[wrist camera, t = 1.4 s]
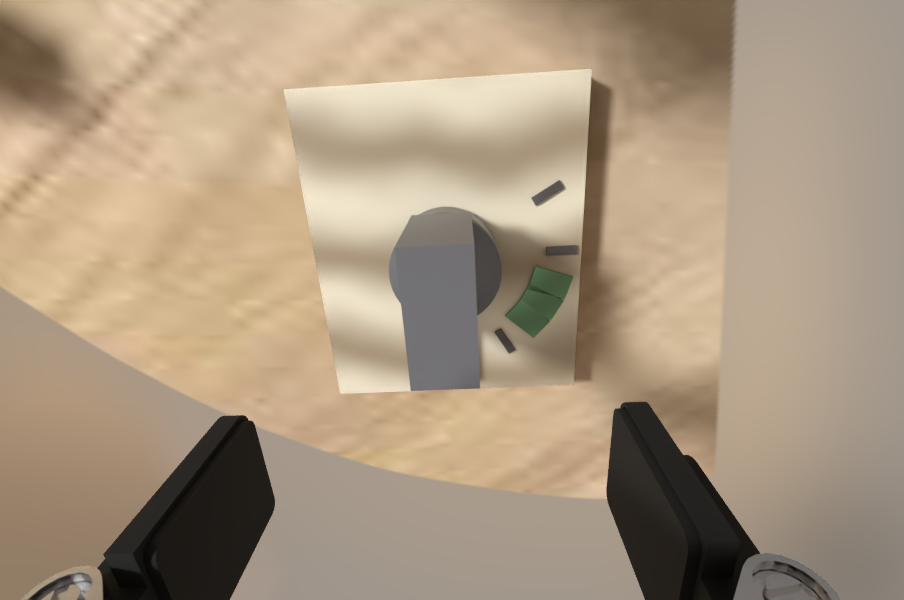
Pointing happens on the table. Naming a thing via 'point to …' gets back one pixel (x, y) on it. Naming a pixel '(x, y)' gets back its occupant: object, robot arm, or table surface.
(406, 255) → the knob
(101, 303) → the table surface
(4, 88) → the table surface
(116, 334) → the table surface
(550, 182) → the dial board
